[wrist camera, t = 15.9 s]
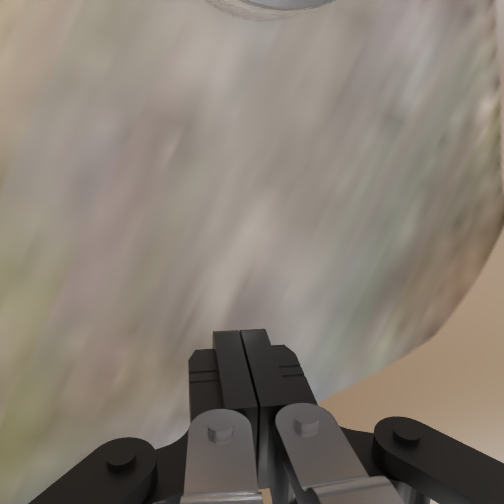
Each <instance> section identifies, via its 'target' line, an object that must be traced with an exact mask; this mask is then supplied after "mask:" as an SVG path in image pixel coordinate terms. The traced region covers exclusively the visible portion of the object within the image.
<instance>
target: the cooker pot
mask: <svg viewBox="0 0 504 504" xmlns="http://www.w3.org/2000/svg"><path fill="white" fill-rule="evenodd" d="M205 1H207V2H208V3H209V4H211V5H212V6H214V7H216V8H217V9H219V10H221V11H223V12H225V13H228V14H230V15H233V16H236V17H239V18H243V19H248V20H256V21H272V20H278V19H283V18H287V17H290V16H293V15H296V14H298V13H300V12H302V11H304V10H299V11H278V10H270V9H263V8H260V7H256V6H253V5H249V4H246V3H244V2H241V1H239V0H205ZM305 10H306V9H305Z"/></svg>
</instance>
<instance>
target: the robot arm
mask: <svg viewBox="0 0 504 504" xmlns="http://www.w3.org/2000/svg"><path fill="white" fill-rule="evenodd" d="M188 363H189V406H190V426H189V429H188V431H187V432H186V433H185V435H184V436H182V437H181V438H180V439H179V440H177V441H176V442H174V443H172V444H170V445H168V446H165V447H162V448H159V449H156V450H155V449H154V448H153V446H152V445H151V444H150V443H148V442H147V441H145V440H142V439H139V438H131V437H127V438H119V439H115V440H112V441H109V442H107V443H105V444H103V445H101V446H100V447H98V448H97V449H96V450H94V451H93V452H92V453H91V454H89V455H88V456H87V457H86V458H84V459H83V460H82V461H81V462H79V463H78V464H77V465H76V466H74V467H73V468H72V469H71V470H70V471H68V472H67V473H66V474H65V475H63V476H62V477H61V478H60V479H58V480H57V481H56V482H55V483H53V484H52V485H51V486H50V487H48V488H47V489H46V490H45V491H43V492H42V493H41V494H40V495H38V496H37V497H36V498H35V499H34V500H32V501H31V502H30V503H29V504H263V497H262V493H261V492H258V489H265V488H270V492H271V497H272V501H271V504H430V498H431V499H432V500H434V501H436V502H437V503H439V504H504V463H502V462H500V461H498V460H496V459H494V458H492V457H489V456H488V455H486V454H483V453H481V452H479V451H477V450H475V449H473V448H471V447H469V446H467V445H465V444H463V443H461V442H459V441H457V440H455V439H453V438H451V437H449V436H447V435H445V434H443V433H441V432H439V431H437V430H435V429H433V428H431V427H429V426H427V425H425V424H423V423H421V422H419V421H416V420H413V419H410V418H406V417H388V418H385V419H383V420H381V421H379V422H378V423H377V424H376V426H375V428H374V433H368V432H362V431H355V430H350V429H346V428H343V427H340V426H339V425H338V423H337V421H336V420H335V418H334V417H333V415H332V414H331V413H330V412H329V411H327V410H326V409H324V408H322V407H320V406H318V404H317V402H316V400H315V397H314V395H313V393H312V391H311V388H310V386H309V384H308V382H307V379H306V377H305V376H304V372H303V370H302V368H301V367H300V363H299V361H298V359H297V357H296V354H295V353H294V352H292V351H291V350H290V349H289V348H287V347H286V346H285V345H272V346H271V343H270V341H269V338H268V335H267V332H266V330H265V329H252V330H240V331H238V330H234V331H214V332H213V349H202V350H195V351H194V353H193V354H192V356H191V357H190V359H189V360H188Z"/></svg>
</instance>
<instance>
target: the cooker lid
mask: <svg viewBox="0 0 504 504" xmlns="http://www.w3.org/2000/svg"><path fill="white" fill-rule="evenodd" d="M239 1H241V2H244V3H246V4H249V5H253V6H256V7H260V8H263V9H270V10H278V11H299V10H305V9H310V8H316V7H319V6H322V5H325V4H328V3H331V2H333V1H335V0H239Z"/></svg>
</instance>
